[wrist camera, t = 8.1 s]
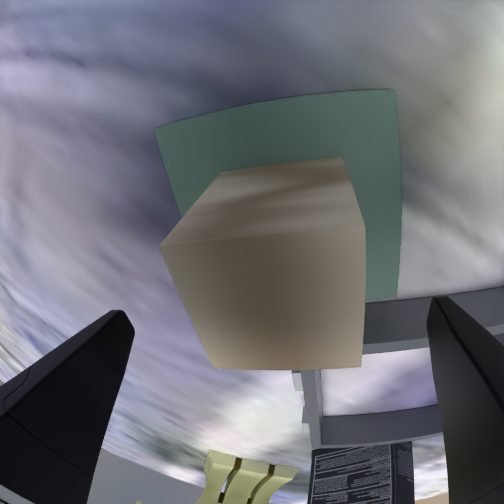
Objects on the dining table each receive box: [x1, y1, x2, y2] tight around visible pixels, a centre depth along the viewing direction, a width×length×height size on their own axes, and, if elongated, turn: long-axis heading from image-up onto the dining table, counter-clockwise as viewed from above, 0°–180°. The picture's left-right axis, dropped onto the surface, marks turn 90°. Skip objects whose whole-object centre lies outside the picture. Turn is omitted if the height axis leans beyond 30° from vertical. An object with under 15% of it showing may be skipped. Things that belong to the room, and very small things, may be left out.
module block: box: [160, 157, 366, 370], centre depth 11 cm, size 5×5×6 cm
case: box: [292, 287, 504, 448], centre depth 18 cm, size 15×15×3 cm
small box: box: [307, 441, 415, 504], centre depth 23 cm, size 11×6×10 cm, turn 135°
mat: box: [154, 89, 402, 300], centre depth 13 cm, size 10×10×1 cm
